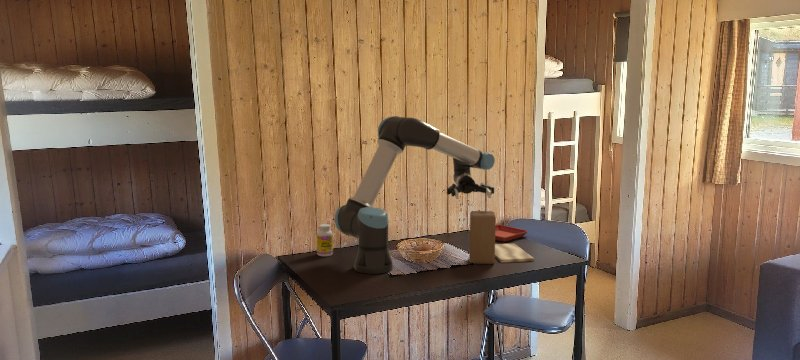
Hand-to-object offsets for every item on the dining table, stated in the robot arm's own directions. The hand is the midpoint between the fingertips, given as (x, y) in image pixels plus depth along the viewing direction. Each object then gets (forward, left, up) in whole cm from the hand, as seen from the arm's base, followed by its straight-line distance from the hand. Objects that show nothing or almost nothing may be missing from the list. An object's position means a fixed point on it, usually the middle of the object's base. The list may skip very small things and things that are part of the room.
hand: (473, 195), depth 258 cm
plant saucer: (+23, +31, -27) cm, 47 cm away
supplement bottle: (-61, +12, -26) cm, 68 cm away
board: (+16, +1, -26) cm, 30 cm away
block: (+2, -7, -26) cm, 27 cm away
